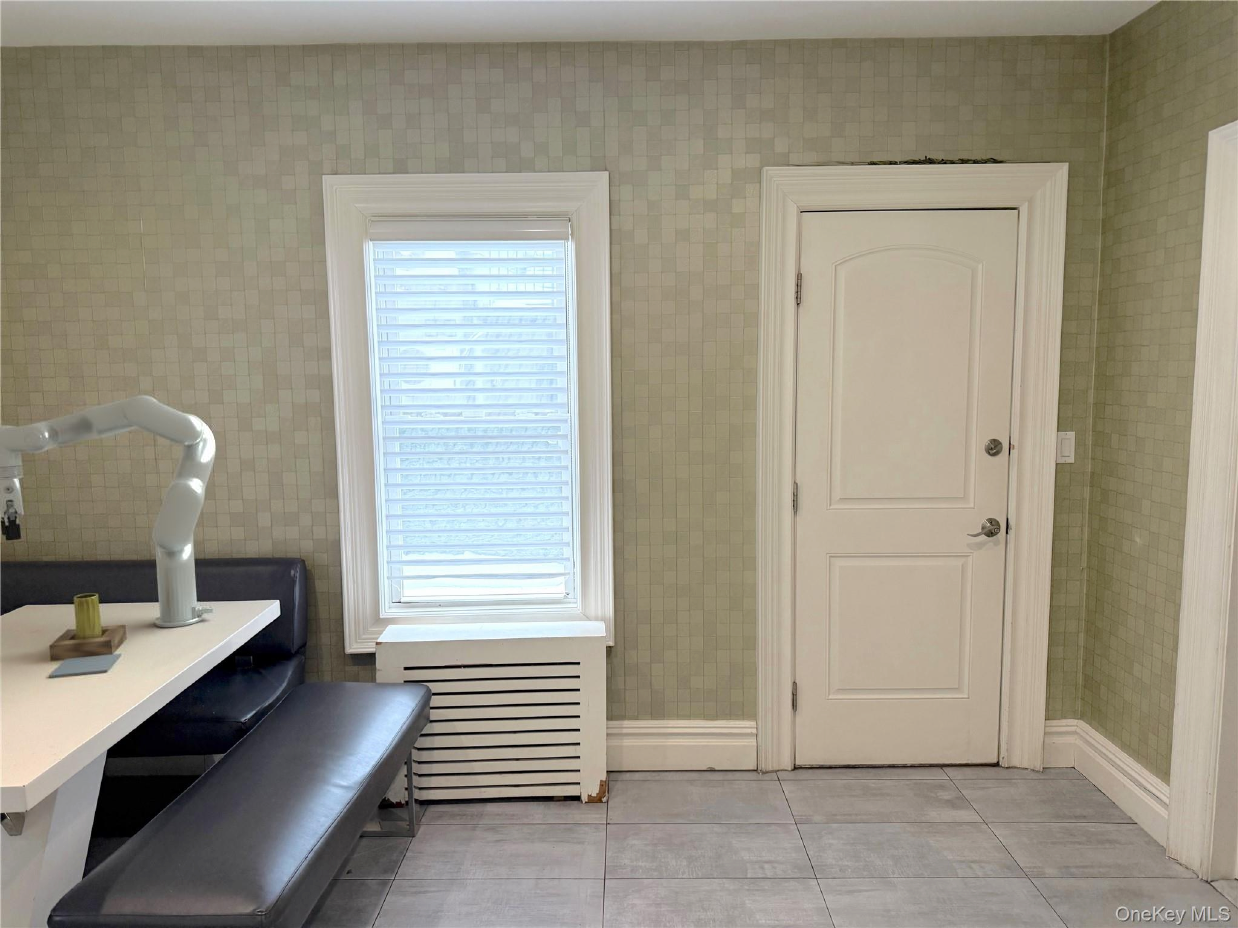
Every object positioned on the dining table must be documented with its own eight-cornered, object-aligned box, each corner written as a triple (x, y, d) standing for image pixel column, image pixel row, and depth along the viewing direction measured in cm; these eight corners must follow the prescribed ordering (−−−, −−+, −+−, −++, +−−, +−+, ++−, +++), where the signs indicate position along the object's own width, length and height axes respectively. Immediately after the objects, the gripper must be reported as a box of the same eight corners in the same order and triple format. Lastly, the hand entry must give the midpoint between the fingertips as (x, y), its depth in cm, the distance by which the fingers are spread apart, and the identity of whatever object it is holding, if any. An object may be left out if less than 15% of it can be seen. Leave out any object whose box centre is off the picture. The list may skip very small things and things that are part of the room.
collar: (126, 638, 220) (125, 624, 219) (112, 655, 207) (111, 639, 206) (68, 644, 216) (67, 629, 215) (50, 660, 203) (49, 645, 202)
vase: (74, 655, 207) (70, 600, 206) (77, 647, 213) (73, 594, 211) (102, 651, 210) (98, 597, 208) (105, 644, 215) (101, 591, 214)
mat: (121, 655, 206) (120, 653, 206) (107, 672, 195) (107, 669, 195) (66, 661, 203) (66, 658, 203) (48, 677, 191) (48, 675, 191)
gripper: (26, 474, 210) (33, 539, 212) (19, 469, 223) (25, 530, 225) (-10, 477, 205) (-4, 544, 207) (-16, 471, 218) (-10, 534, 220)
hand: (11, 537), depth 216 cm, fingers open, 9 cm apart
